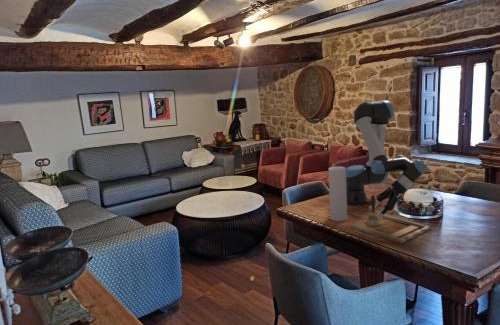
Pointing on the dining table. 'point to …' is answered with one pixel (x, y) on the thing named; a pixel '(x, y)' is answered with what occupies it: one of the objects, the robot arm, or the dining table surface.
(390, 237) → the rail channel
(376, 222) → the hand bell
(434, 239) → the dining table surface
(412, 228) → the tan wooden strip
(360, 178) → the robot arm
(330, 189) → the cylinder container
